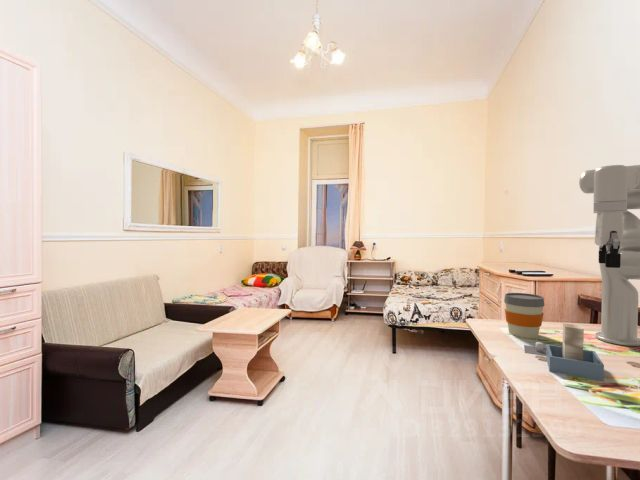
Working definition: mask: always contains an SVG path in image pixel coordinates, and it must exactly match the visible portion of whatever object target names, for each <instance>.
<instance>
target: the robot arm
mask: <svg viewBox="0 0 640 480" xmlns="http://www.w3.org/2000/svg"><path fill="white" fill-rule="evenodd" d="M578 180H579V181H578V183H579V184H578V185H579V188H580V190H581V192H582V193H584V194H593V214H596V219H595V231H594V244H595V245H597V246H599V247H598V263H599V270H600V275H601V315H600V317H601V321H600V322H601V323H600V324H601V325H600V327H601V328H600V331H598V332H596V333H595V338H596V339H598V340H600V341H603V342H607V343H610V344H615V345H619V346H620V345H621V346H628V347H640V337H638V327H639V326H638V323H639V321H638V320H639V318H638V317H639V291H638V289H637V288H636V286H635V285H634V284H632V283H631V281H629V280H636V281H637V280H640V218H639V217H638V216H637V215H635V214H634V213H633V212H631V211H629V210H640V164H636V165H624V164H623V165H622V164H613V165H610V164H609V165H604V166H599V167H597V168H596V169H587V170H584V171H583V172H582V173H581V175H580V178H579V179H578Z"/></svg>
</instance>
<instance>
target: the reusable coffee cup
mask: <svg viewBox="0 0 640 480" xmlns="http://www.w3.org/2000/svg"><path fill="white" fill-rule="evenodd" d="M503 302H504V304H505V308H504V314H505V321H506V323H507V330H508V333H509V334H510V335H512V336H515V337H518V338H519V337H520V338H525V339H534V338H538V337H539V333H540V327H542V323H543V319H544V312H543V310H544V307H545V298H544V296H541V295H538V294H533V293H524V292H523V293H522V292H507V293H505V294H504V300H503Z"/></svg>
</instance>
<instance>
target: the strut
mask: <svg viewBox="0 0 640 480" xmlns="http://www.w3.org/2000/svg"><path fill="white" fill-rule="evenodd" d="M584 330H585V328H584V327H583V326H582V325H580V324H573V323H562V347H563V350H562V358H567V359H573V360H580V361H583V350H584V337H585V336H584V333H585V332H584Z"/></svg>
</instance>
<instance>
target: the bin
mask: <svg viewBox="0 0 640 480" xmlns="http://www.w3.org/2000/svg"><path fill="white" fill-rule="evenodd" d="M545 346H546V356H545V360H546V362H547V367H548V371H549V372H550V373H551V372H552V373H556V374H563V375H568V376H572V377H573V376H574V377H580V378H584V379H591V380H596V381H602V382H604V380H605V379H604V376H605V375H604V374H605V372H604V371H605V365H604V363H603V361H602V360H601V359H600V357H599V356H598V354H597V353H596V351H595V350H589V349H583V361H580V360H573V359H567V358H562V350H563V345H562V346H561V345H553V344H547V343H546V345H545Z"/></svg>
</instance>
